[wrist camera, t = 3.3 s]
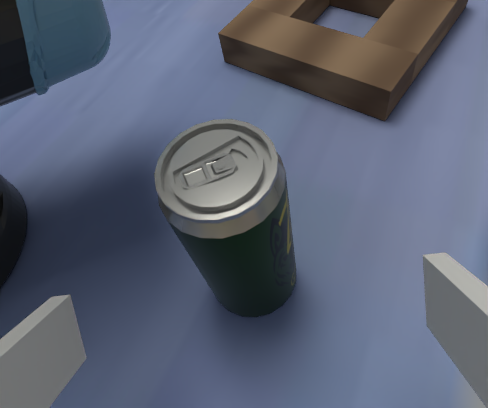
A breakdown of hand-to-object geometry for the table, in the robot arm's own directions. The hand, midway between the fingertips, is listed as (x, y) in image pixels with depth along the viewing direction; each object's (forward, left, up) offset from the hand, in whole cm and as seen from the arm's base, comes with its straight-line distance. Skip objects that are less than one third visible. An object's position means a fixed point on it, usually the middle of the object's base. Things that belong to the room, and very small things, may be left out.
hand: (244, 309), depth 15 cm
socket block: (-11, +28, -10) cm, 31 cm away
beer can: (-4, +4, -10) cm, 11 cm away
